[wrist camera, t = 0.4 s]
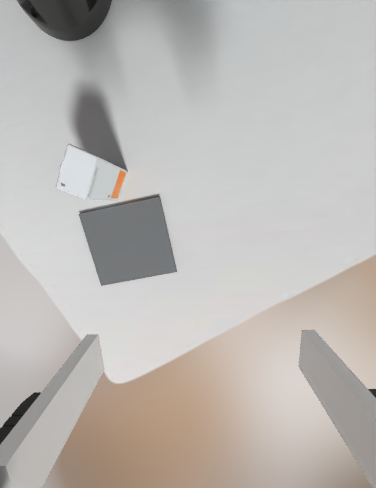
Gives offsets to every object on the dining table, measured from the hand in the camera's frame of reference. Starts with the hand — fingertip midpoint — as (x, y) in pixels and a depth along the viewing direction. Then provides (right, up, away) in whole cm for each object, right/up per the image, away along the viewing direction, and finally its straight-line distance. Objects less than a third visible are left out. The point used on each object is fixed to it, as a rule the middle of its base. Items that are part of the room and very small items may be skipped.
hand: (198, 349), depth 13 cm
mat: (-12, +7, +27) cm, 30 cm away
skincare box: (-15, +19, +25) cm, 34 cm away
